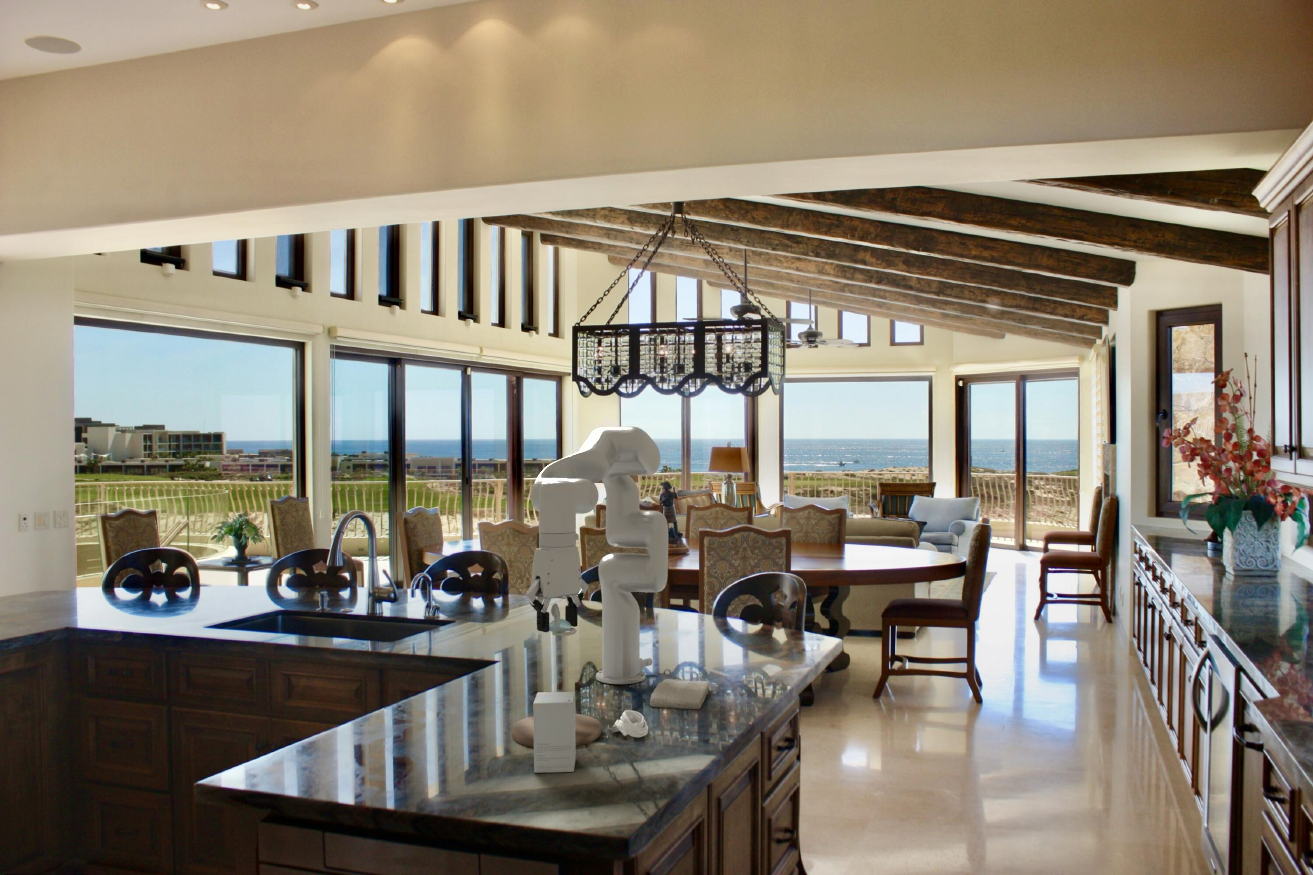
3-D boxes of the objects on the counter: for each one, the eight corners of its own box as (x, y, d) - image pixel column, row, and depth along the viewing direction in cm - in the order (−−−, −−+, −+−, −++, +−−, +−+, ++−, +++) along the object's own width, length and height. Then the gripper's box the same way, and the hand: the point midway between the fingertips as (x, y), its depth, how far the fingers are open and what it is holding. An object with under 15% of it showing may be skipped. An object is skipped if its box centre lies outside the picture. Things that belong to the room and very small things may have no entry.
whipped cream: (632, 730, 185) (631, 706, 186) (657, 733, 181) (656, 709, 181) (606, 736, 179) (606, 712, 179) (631, 740, 175) (631, 715, 175)
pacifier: (579, 631, 183) (550, 629, 184) (580, 601, 183) (551, 599, 184) (573, 638, 176) (543, 637, 176) (574, 607, 176) (544, 606, 176)
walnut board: (562, 714, 192) (562, 707, 192) (619, 733, 180) (619, 725, 180) (494, 733, 179) (494, 726, 179) (550, 754, 167) (550, 746, 167)
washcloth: (710, 690, 213) (710, 677, 213) (701, 712, 196) (701, 698, 196) (662, 688, 215) (662, 675, 215) (649, 709, 198) (649, 695, 198)
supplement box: (576, 758, 165) (576, 690, 165) (574, 772, 157) (574, 702, 158) (536, 758, 165) (537, 691, 165) (532, 773, 157) (532, 702, 157)
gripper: (577, 536, 189) (577, 619, 189) (511, 542, 176) (511, 632, 176) (601, 539, 184) (601, 624, 183) (535, 545, 171) (535, 637, 171)
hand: (557, 627), depth 180 cm, fingers closed on pacifier, 6 cm apart
